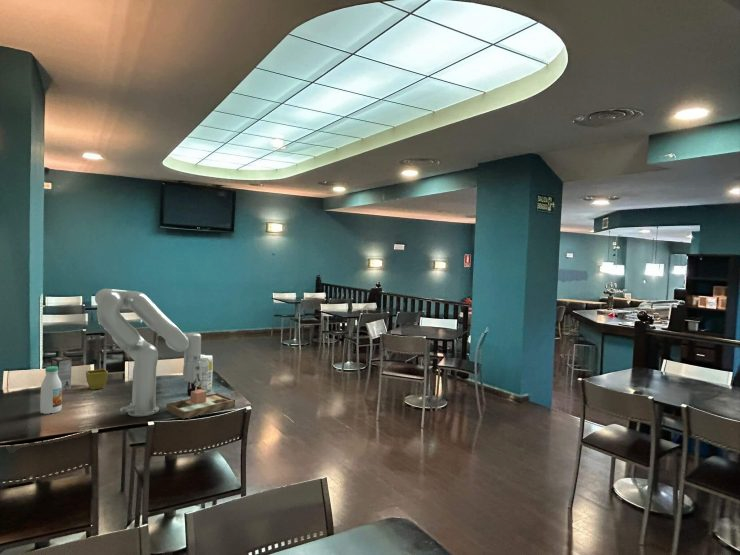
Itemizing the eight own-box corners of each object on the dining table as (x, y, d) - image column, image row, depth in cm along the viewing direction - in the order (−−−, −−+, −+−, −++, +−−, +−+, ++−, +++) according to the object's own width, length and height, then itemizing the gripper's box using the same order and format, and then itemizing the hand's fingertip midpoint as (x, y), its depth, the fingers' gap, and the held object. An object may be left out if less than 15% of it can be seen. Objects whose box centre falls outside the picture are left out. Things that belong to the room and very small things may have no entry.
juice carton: (205, 393, 232) (206, 357, 232) (191, 392, 234) (192, 356, 234) (213, 389, 240) (214, 355, 239) (199, 388, 242) (200, 353, 241)
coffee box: (49, 388, 231) (50, 357, 230) (63, 385, 236) (64, 355, 235) (57, 391, 226) (58, 360, 225) (71, 388, 231) (72, 358, 231)
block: (196, 403, 208) (196, 393, 208) (190, 401, 211) (190, 391, 211) (206, 401, 212) (206, 391, 212) (200, 399, 215) (200, 389, 215)
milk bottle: (44, 415, 192) (45, 370, 191) (37, 411, 196) (37, 367, 195) (64, 411, 199) (65, 367, 198) (56, 407, 203) (57, 364, 202)
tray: (183, 419, 194) (184, 412, 194) (166, 410, 205) (166, 403, 204) (235, 406, 215) (235, 399, 215) (216, 398, 225) (216, 392, 225)
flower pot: (85, 387, 234) (85, 370, 234) (104, 384, 240) (104, 368, 240) (88, 391, 228) (88, 374, 228) (107, 388, 234) (108, 371, 233)
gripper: (207, 359, 213) (206, 397, 214) (191, 354, 223) (190, 390, 223) (193, 362, 207) (192, 400, 208) (177, 356, 217) (176, 393, 217)
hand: (191, 395), depth 216 cm, fingers closed
